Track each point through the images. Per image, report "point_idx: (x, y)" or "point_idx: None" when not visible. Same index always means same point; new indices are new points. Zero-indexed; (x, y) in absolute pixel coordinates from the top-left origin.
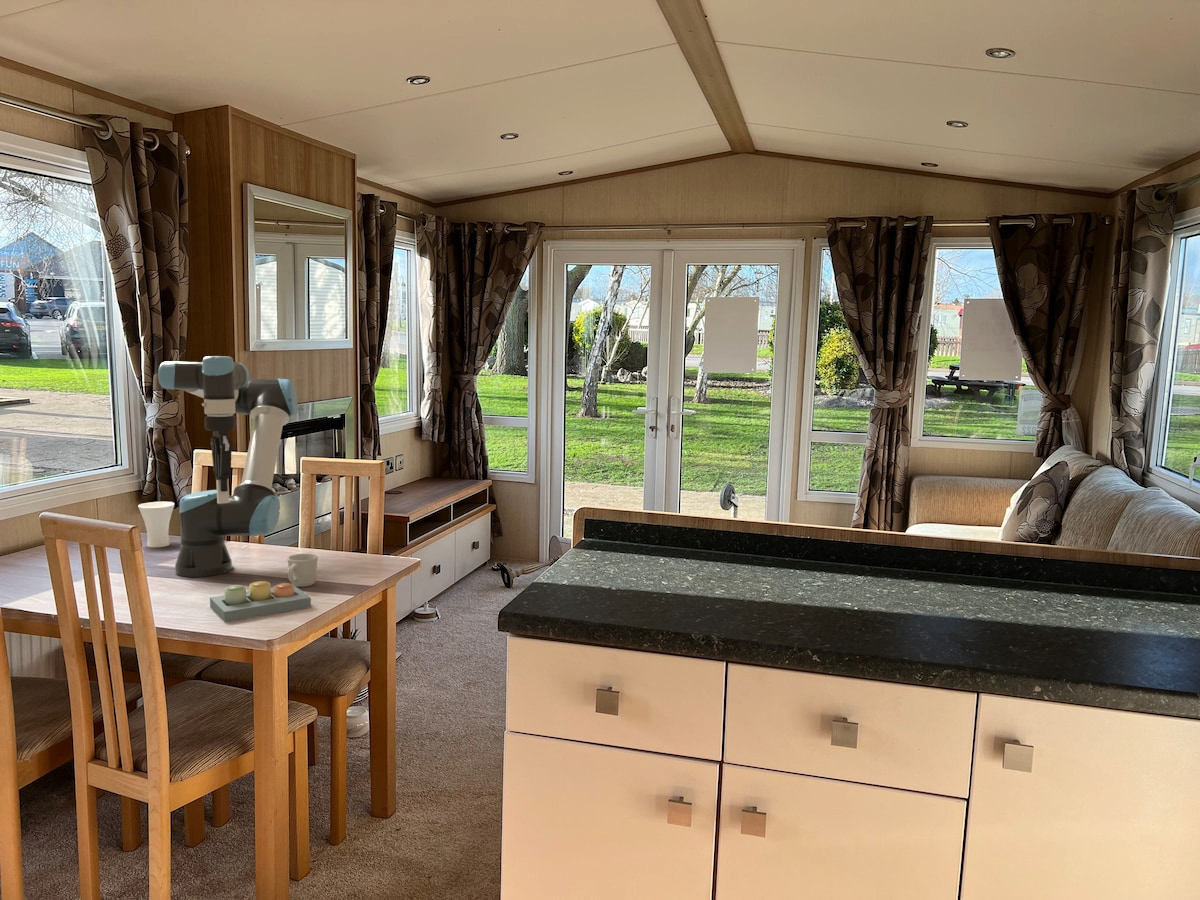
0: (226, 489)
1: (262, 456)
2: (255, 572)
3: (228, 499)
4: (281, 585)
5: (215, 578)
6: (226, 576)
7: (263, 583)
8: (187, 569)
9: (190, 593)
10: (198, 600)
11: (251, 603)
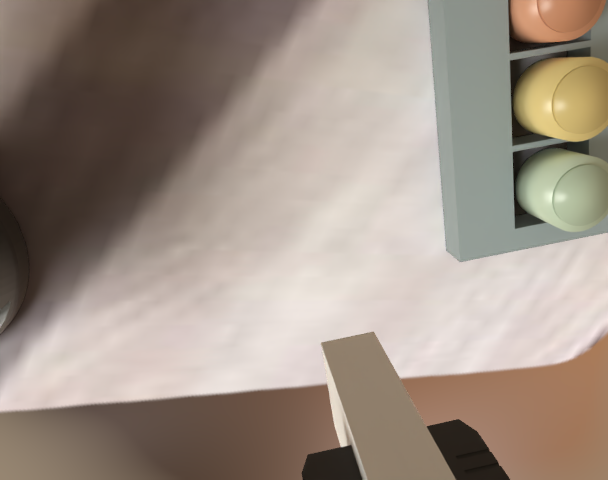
0: (475, 441)
1: None
2: (8, 50)
3: (382, 354)
4: (568, 6)
5: (65, 220)
6: (45, 177)
7: (594, 86)
8: (2, 331)
9: (253, 305)
10: (350, 282)
11: (603, 135)
